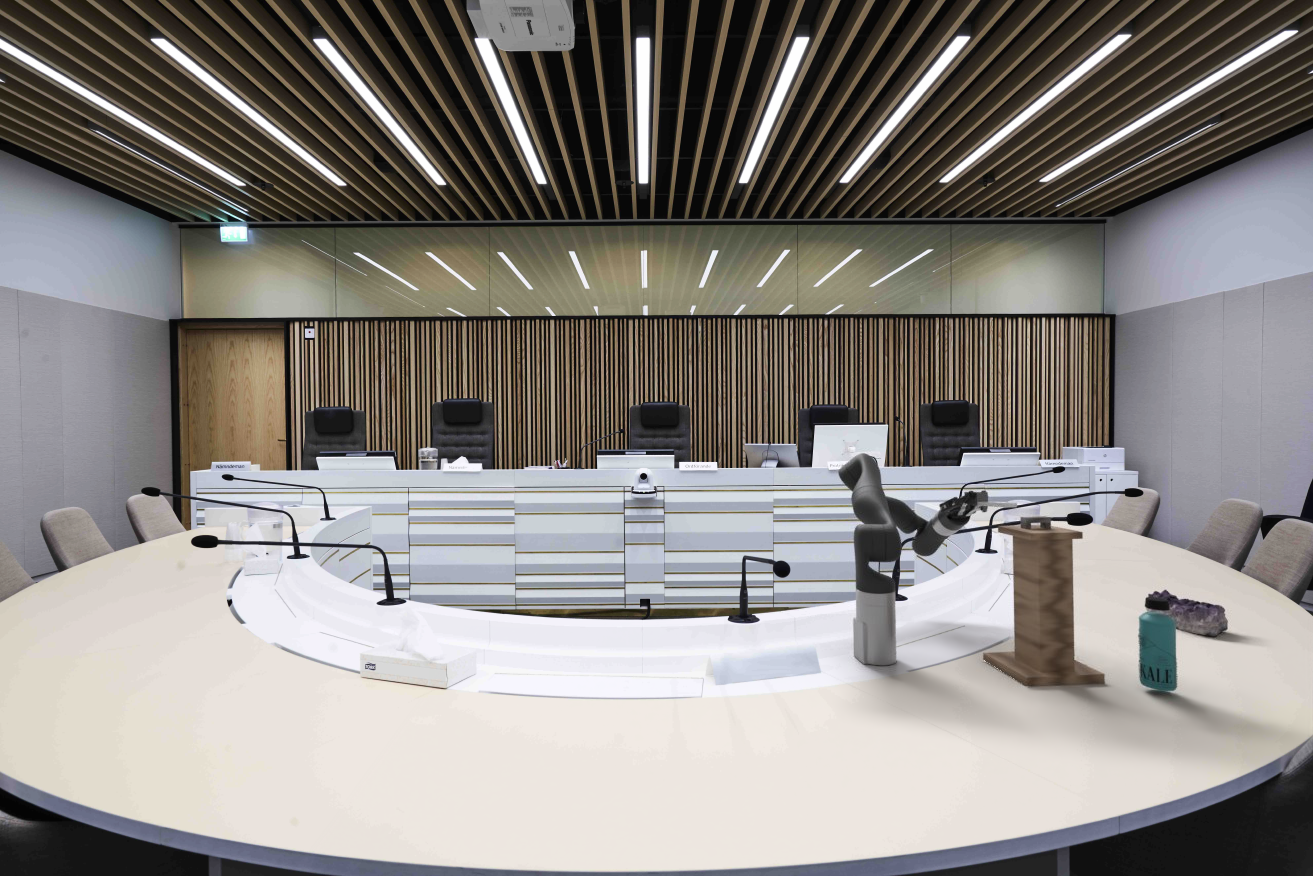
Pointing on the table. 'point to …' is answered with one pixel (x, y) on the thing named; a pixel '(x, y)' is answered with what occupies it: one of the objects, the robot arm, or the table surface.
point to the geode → (1194, 615)
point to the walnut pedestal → (1043, 608)
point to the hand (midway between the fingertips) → (979, 493)
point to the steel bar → (982, 500)
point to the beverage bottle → (1157, 647)
